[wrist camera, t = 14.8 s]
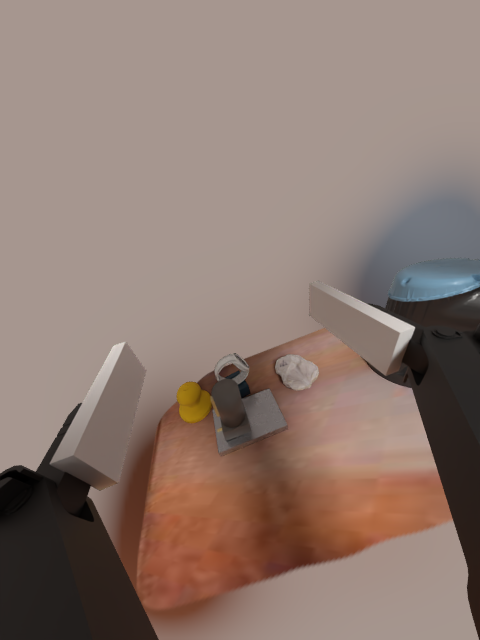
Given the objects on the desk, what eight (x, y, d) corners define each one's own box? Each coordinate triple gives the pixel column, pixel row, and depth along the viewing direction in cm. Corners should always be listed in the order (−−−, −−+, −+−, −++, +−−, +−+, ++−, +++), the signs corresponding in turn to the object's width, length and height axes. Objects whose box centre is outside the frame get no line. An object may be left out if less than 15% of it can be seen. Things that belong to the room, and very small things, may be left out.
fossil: (297, 396, 39) (268, 359, 44) (292, 402, 44) (267, 368, 49) (327, 374, 41) (297, 341, 46) (319, 382, 46) (293, 352, 51)
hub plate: (270, 392, 44) (268, 382, 42) (288, 428, 36) (286, 419, 34) (214, 413, 42) (209, 404, 40) (220, 456, 35) (215, 447, 33)
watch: (257, 389, 45) (249, 358, 39) (228, 405, 43) (215, 375, 37) (247, 374, 50) (239, 344, 44) (220, 388, 48) (208, 359, 42)
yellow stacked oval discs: (174, 414, 44) (195, 388, 50) (197, 429, 40) (218, 398, 45) (160, 396, 40) (185, 369, 46) (185, 410, 36) (210, 379, 41)
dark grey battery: (244, 408, 40) (235, 374, 34) (251, 431, 36) (243, 397, 30) (220, 416, 40) (207, 383, 34) (224, 441, 35) (210, 408, 29)
